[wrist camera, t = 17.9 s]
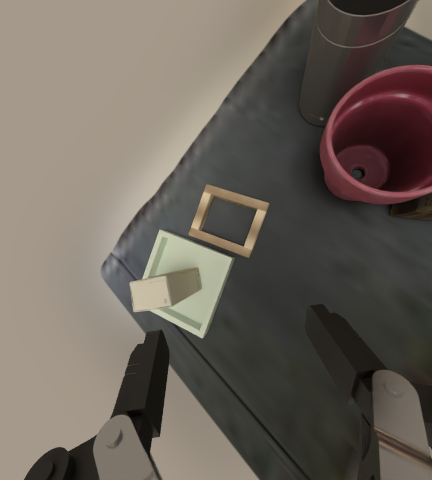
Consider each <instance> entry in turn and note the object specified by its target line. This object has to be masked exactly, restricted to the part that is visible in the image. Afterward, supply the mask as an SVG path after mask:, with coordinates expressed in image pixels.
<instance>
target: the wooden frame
mask: <svg viewBox="0 0 432 480" xmlns="http://www.w3.org/2000/svg"><path fill="white" fill-rule="evenodd" d="M214 197H216V198H219V199H222V200H225V201H228V202H231V203H235V204H238V205H241V206H244V207H247V208H250V209H253V210H257V212H256V215H255V218H254V220H253V223H252V226H251V228H250V231H249V234H248V236H247V239H246V242H245V245H244V246H241V245H238V244H236V243H233V242H230V241H228V240H225V239H222V238H219V237H217V236H214V235H211V234H209V233H206V232H203V231H202V229H203V226H204V223H205V221H206V218H207V215H208V212H209V209H210V207H211V204H212V201H213V198H214ZM268 208H269V203H267V202H263V201H260V200H257V199H253V198H250V197H247V196H244V195H240V194H237V193H234V192H230V191H227V190H224V189H221V188H217V187H214V186H211V185H206V187H205V190H204V193H203V196H202V199H201V201H200V204H199V207H198V210H197V212H196V215H195V218H194V221H193V224H192V226H191V229H190V232H189V235H190V236H193V237H196V238H198V239H201V240H203V241H206V242H209V243H211V244H214V245H216V246H219V247H221V248H224V249H227V250H229V251H232V252H234V253H237V254H240V255H242V256H245V257H247V258H250V256H251V253H252V251H253V248H254V245H255V243H256V240H257V237H258V235H259V232H260V229H261V227H262V224H263V221H264V219H265V216H266V213H267V211H268Z"/></svg>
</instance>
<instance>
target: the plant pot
mask: <svg viewBox="0 0 432 480" xmlns="http://www.w3.org/2000/svg"><path fill="white" fill-rule="evenodd" d="M320 159H321V163H322V167H323V169H324V178H325V183H326V185H327V187H328V189H329V190H330V191H331V192H332V193H333V194H334V195H335V196H337V197H339V198H341V199H344V200H349V201H362V202H366V203H372V204H395V203H401V202H405V201H409V200H412V199H415V198H418V197H421V196H423V195H426V194H429V193H431V192H432V66H425V65H407V66H399V67H395V68H390V69H387V70H384V71H381V72H378V73H376V74H374V75H372V76H370V77H368V78H366V79H364V80H363V81H361V82H360V83H358V84H357V85H356V86H354V87H353V88H352V89H351V90H350V91H348V92H347V93H346V94H345V95H344V96H343V98H342V99H341V100H340V101H339V102H338V104H337V105H336V107H335V108H334V110H333V112H332V113H331V116H330V118H329V120H328V122H327V125H326V127H325V130H324V132H323V135H322V139H321V143H320ZM354 169H361V170H363V172H364V176H363V178H360V179H356V178H354V177H353V176H352V171H353V170H354Z"/></svg>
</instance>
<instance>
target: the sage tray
mask: <svg viewBox="0 0 432 480" xmlns="http://www.w3.org/2000/svg"><path fill="white" fill-rule="evenodd" d="M234 260H235V257H232V256H230V255H227V254H224V253H222V252H219V251H217V250H214V249H212V248H209V247H207V246H204V245H202V244H199V243H196V242H194V241H191V240H189V239H186V238H184V237H181V236H179V235H176V234H174V233H171V232H168V231H164V230H159V233H158V236H157V239H156V242H155V244H154V247H153V250H152V253H151V256H150V259H149V262H148V264H147V267H146V270H145V273H144V276H143V279H145V278H149V277H153V276H157V275H161V274H165V273H169V272H174V271H179V270H184V269H190V268H197V267H198V269H199V274H200V279H201V285H202V289H201V290H199V291H198V292H196V293H194V294H193V295H191V296H189V297H187V298H186V299H184V300H182V301H181V302H179V303H177V304H176V305H174V306H172V307H168V308H162V309H156V310H150V311H151V312H153V313H155V314H157V315H159V316H161V317H163V318H165V319H167V320H168V321H170V322H172V323H174V324H176V325H178V326H180V327H182V328H184V329H186V330H187V331H189V332H191V333H193V334H195V335H197V336H199V337H201V338H203V337H204V336H205V335H206V334H207V332H208V330H209V327H210V325H211V322H212V319H213V317H214V314H215V311H216V308H217V306H218V303H219V300H220V298H221V295H222V292H223V290H224V287H225V284H226V281H227V279H228V276H229V273H230V271H231V268H232V265H233V263H234Z"/></svg>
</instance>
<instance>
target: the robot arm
mask: <svg viewBox="0 0 432 480" xmlns="http://www.w3.org/2000/svg"><path fill="white" fill-rule="evenodd" d="M418 1H419V0H318V4H317V10H316V16H315V21H314V26H313V31H312V37H311V42H310V47H309V53H308V58H307V63H306V68H305V74H304V79H303V84H302V89H301V94H300V100H299V109H300V112H301V115H302V116H303V118H304V119H305V120H306V121H307V122H309V123H311V124H313V125H316V126H326V125H327V122H328V120H329V118H330V116H331V113H332V112H333V110H334V108H335V107H336V105H337V104H338V102H339V101H340V100H341V99H342V98H343V96H344V95H345V94H346V93H347V92H348V91H350V90H351V89H352V88H353V87H354V86H356V85H357V84H358V83H360V82H361V81H363V80H364V79H366V78H368V77H370V76H372V75H374V74H376V73H377V71H378V69H379V67H380V66H381V64H382V62H383V61H384V59H385V57H386V56H387V54H388V52H389V51H390V49H391V47H392V46H393V44H394V42H395V41H396V39H397V37H398V35H399V34H400V32H401V30H402V29H403V27H404V25H405V24H406V22H407V20H408V18H409V17H410V15H411V13H412V12H413V10H414V8H415V6H416V5H417V3H418ZM305 328H306V332H307V335H308V337H309V339H310V341H311V342H312V344H313V346H314V348H315V349H316V351H317V353H318V355H319V356H320V358H321V360H322V361H323V363H324V365H325V367H326V368H327V370H328V372H329V374H330V375H331V377H332V379H333V380H334V382H335V384H336V386H337V387H338V389H339V391H340V393H341V394H342V396H343V398H344V399H345V401H346V403H347V405H349V404H354V403H356V404H357V405H358V407H359V409H360V410H361V411H360V461H359V471H358V478H357V480H432V458H431V456H430V451H429V447H431V449H432V386H427V385H421V384H415V383H411V382H408V381H407V380H406V379H405V378H403V377H402V376H400V375H399V374H397V373H395V372H392V371H389V370H388V369H387V368H386V367H385V366H384V365H383V364H382V362H381V361H380V360H379V359H378V358H377V356H376V355H375V354H374V353H373V352H372V351H371V349H370V348H369V347H368V346H367V345H366V343H365V342H364V341H363V340H362V339H361V338H360V337H359V335H358V334H357V333H356V332H355V330H353V328H352V327H351V326H350V325H349V323H348V322H347V321H346V320H345V319H344V318H342V317H341V316H339V315H338V314H336V313H330V312H329V311H328V310H327V308H326V307H325V306H324V305H323V304H319V305H313V306H308V307H307V313H306V324H305ZM168 367H169V348H168V345H167V342H166V339H165V336H164V333H163V331H162V330H156V331H150V332H147V334H146V337H145V340H144V343H143V344H138V345H137V346H136V348H135V349H134V351H133V352H132V353H131V355H130V359H129V362H128V367H127V368H126V372H125V376H124V378H123V381H122V385H121V388H120V391H119V394H118V397H117V401H116V404H115V407H114V410H113V413H112V416H111V418H110V420H109V421H107V422H106V423H105V424H104V426H103V427H102V428H101V429H100V431H99V433H98V434H97V435H96V436H94V437H93V438H91V439H90V440H88V441H86V442H85V443H83V444H81V445H79V446H77V447H75V448H74V449H72V450H70V451H67V450H66V449H65V448H62V447H58V448H54V449H52V450H50V451H48V452H47V453H45V454H44V455H43V456H42V457H41V458H40V459H38V461H37V462H36V463H35V464H34V465H33V466H32V468H31V469H30V471H29V472H28V474H27V475H26V477H25V479H24V480H163V479H162V477H161V475H160V473H159V470H158V468H157V466H156V464H155V462H154V459H153V457H152V455H151V453H150V448H151V441H152V438H154V437H160V430H161V423H162V415H163V407H164V398H165V391H166V382H167V374H168Z"/></svg>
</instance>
